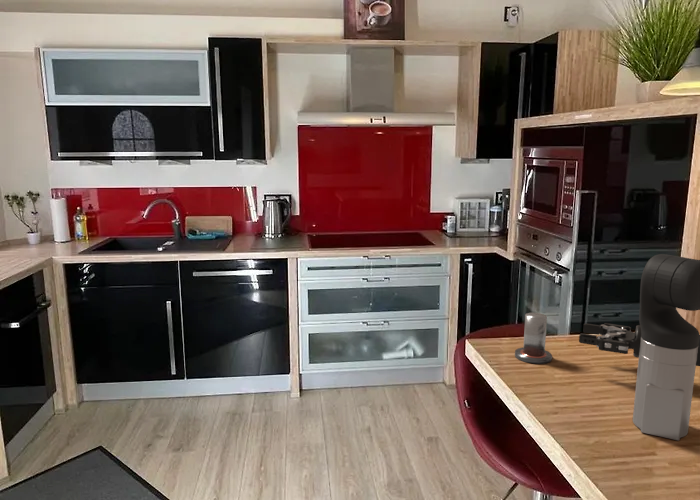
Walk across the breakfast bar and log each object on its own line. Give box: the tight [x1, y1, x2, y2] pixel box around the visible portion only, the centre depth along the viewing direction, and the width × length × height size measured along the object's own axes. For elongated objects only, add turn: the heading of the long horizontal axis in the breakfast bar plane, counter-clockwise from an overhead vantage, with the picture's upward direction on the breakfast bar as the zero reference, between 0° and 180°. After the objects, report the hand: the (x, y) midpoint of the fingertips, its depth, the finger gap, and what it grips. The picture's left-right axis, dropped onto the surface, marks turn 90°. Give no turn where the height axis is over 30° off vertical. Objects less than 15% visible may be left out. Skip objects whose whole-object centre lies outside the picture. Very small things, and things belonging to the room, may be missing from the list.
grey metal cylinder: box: [522, 312, 548, 357], centre depth 134 cm, size 5×5×10 cm
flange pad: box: [514, 347, 553, 365], centre depth 135 cm, size 9×9×1 cm
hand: (581, 332), depth 129 cm, fingers open, 8 cm apart
